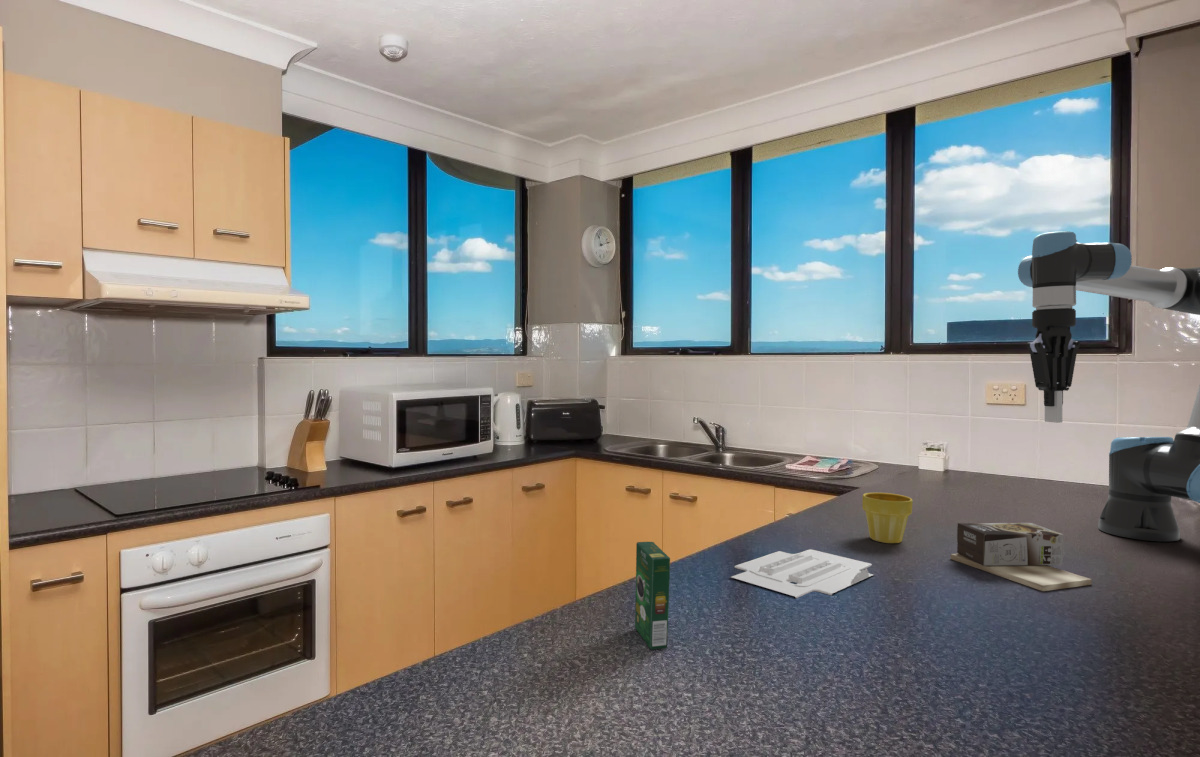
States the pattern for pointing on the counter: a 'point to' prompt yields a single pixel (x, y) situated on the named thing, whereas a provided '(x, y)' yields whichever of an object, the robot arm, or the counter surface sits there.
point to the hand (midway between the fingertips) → (1053, 421)
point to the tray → (803, 572)
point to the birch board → (1031, 575)
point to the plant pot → (886, 515)
